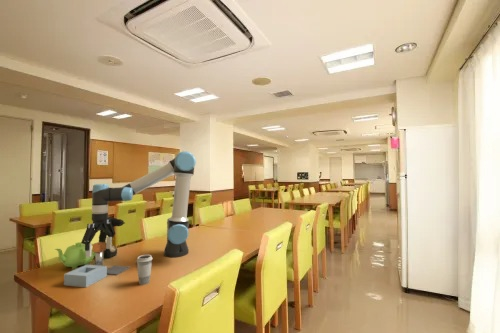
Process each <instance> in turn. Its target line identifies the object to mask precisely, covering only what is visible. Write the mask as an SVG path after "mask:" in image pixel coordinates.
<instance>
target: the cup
mask: <svg viewBox="0 0 500 333" xmlns="http://www.w3.org/2000/svg"><path fill="white" fill-rule="evenodd" d="M152 260H153V257H152V255H151V254H142V255H139V256H137V258H136V262H137V264H136V266H137V277H138V284H139V285H140V286H144V285H148V284H150V282H151V280H150V279H151V275H152V274H151V273H152V263H153V262H152Z"/></svg>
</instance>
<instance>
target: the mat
mask: <svg viewBox="0 0 500 333" xmlns="http://www.w3.org/2000/svg"><path fill="white" fill-rule="evenodd" d="M130 268H131V266H125V265H123V266H122V265H113V266H111V267H109V268H108V267H107V275H109V276H118V275H119V274H122V273H123V272H126V271H127V270H129V269H130Z"/></svg>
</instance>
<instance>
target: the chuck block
mask: <svg viewBox="0 0 500 333" xmlns="http://www.w3.org/2000/svg"><path fill="white" fill-rule="evenodd" d="M107 269H108V266H107V265H103V266H97V265H95V264H94V265H93V264H89V265H85V266H84V265H81V266H80V267H77V268H76V269H72V270H71V271H68V272H66V273H64V274H63V285H64V286H66V287H67V286H68V287H80V288H88V287H90V286H91V285H93V284H95V283H97V282H99V281H101V280H103V279H104V278H106V277H108V276H107Z"/></svg>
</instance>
